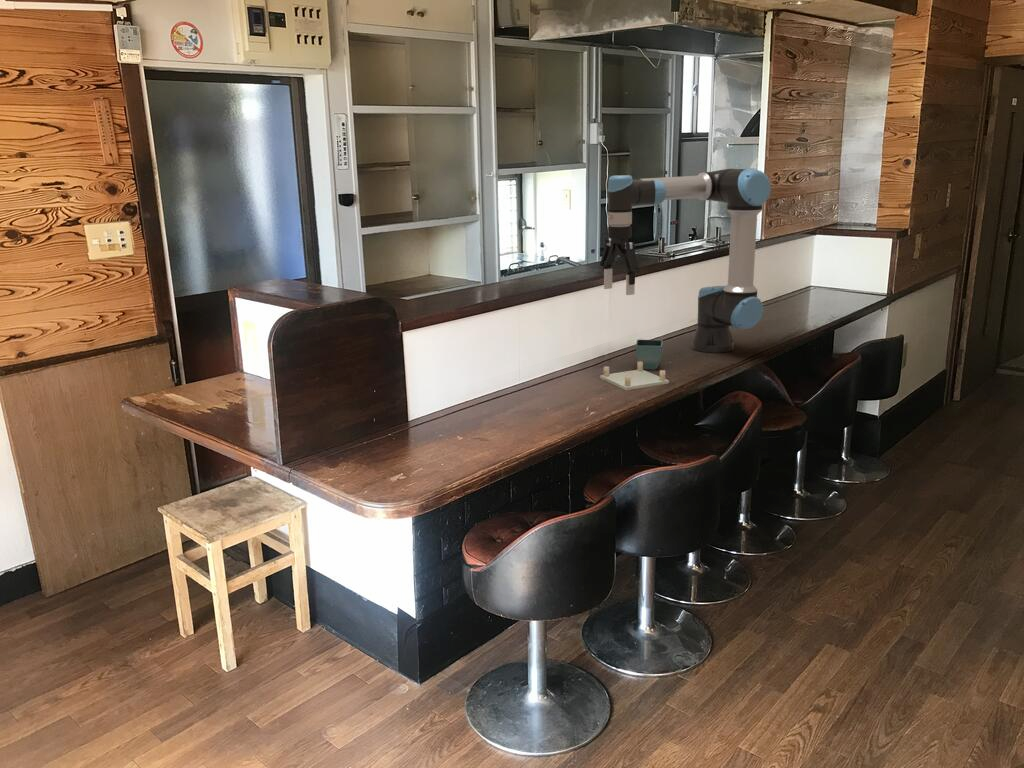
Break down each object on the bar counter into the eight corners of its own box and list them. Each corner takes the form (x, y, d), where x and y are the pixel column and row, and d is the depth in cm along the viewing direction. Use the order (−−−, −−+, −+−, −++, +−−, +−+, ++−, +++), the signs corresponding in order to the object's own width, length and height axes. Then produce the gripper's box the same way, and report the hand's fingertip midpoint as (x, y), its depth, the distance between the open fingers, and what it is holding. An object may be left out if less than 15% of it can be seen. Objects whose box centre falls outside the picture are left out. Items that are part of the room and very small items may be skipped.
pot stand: (641, 371, 281) (641, 360, 280) (668, 383, 267) (669, 371, 266) (600, 378, 275) (600, 366, 274) (626, 390, 261) (626, 378, 260)
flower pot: (661, 371, 281) (662, 345, 278) (635, 371, 283) (635, 345, 280) (662, 365, 289) (662, 339, 287) (636, 364, 291) (636, 339, 288)
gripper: (589, 223, 275) (589, 287, 281) (630, 229, 253) (629, 298, 259) (609, 221, 278) (609, 285, 284) (651, 227, 256) (650, 296, 262)
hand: (618, 291), depth 272 cm, fingers open, 13 cm apart
